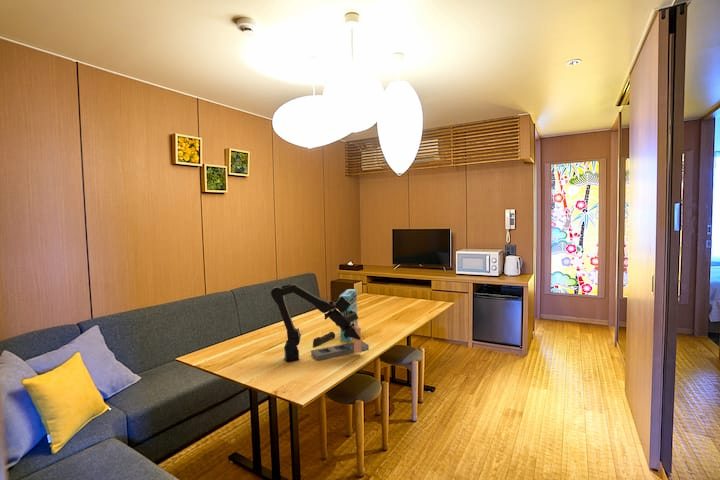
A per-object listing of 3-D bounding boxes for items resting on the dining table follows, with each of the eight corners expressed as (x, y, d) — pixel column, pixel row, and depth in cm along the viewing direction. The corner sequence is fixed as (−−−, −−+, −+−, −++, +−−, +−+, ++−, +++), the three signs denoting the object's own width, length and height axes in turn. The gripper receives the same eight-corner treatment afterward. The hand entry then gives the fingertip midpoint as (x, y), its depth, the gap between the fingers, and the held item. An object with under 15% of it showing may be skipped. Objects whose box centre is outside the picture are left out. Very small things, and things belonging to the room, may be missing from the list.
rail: (317, 360, 194) (316, 355, 194) (311, 355, 202) (311, 350, 202) (368, 349, 207) (368, 345, 207) (361, 344, 215) (361, 340, 215)
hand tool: (330, 337, 231) (329, 330, 230) (335, 338, 228) (335, 330, 228) (309, 347, 215) (309, 339, 215) (314, 348, 213) (314, 340, 212)
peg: (354, 352, 197) (353, 328, 196) (354, 350, 201) (353, 326, 200) (361, 352, 197) (360, 328, 196) (360, 350, 201) (359, 326, 200)
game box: (351, 341, 221) (349, 296, 219) (340, 341, 222) (338, 296, 220) (358, 331, 241) (356, 289, 239) (348, 330, 242) (347, 288, 240)
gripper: (349, 311, 188) (372, 332, 189) (347, 303, 206) (368, 321, 208) (334, 328, 188) (357, 348, 189) (333, 317, 206) (354, 336, 208)
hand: (359, 338), depth 199 cm, fingers closed on peg, 3 cm apart
